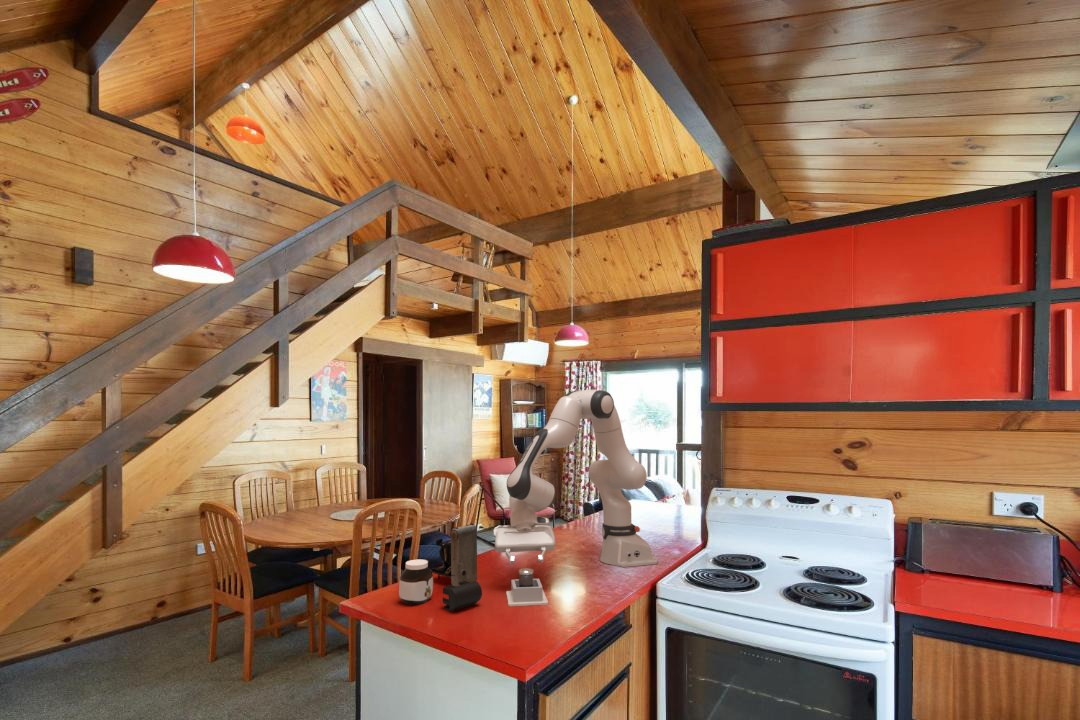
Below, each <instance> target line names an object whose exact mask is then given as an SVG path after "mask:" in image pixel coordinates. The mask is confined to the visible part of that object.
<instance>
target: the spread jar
mask: <svg viewBox="0 0 1080 720" xmlns="http://www.w3.org/2000/svg"><path fill="white" fill-rule="evenodd" d="M428 566H429V560H427V559H420V558H419V559H411V560H407V561H406V562H405V569H403V571H402V573H401V574H400V577H399V583H398V584H399V586H398V596H399V599H400V600H401V601H402V602H403V603H405V604H406V605H410V606H416V605H422V604H423V605H424V604H425V603H427V602H428V600H430V598H431V596H432V594H433V590H434V573H432V572H431V570H432V569H430V568H429V567H428Z"/></svg>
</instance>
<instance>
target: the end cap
mask: <svg viewBox="0 0 1080 720" xmlns="http://www.w3.org/2000/svg"><path fill="white" fill-rule="evenodd" d="M459 585H460V586H453V585H452V584H449V585H445V586H444V587H443V588H442V594H443V595H445V596H448V598H445V597H442V604H444V605H443V606H442V607H443V608H442V609H443V610H446V611H448V612H455V611H459V610H462V609H465V608H468V607H470V606H473V605H476V604H477V603H478V602H479V601H481V600H482V596H483V590H482V586H481V584H480V583H479V582H478V581H473V582H467V581H463V582H459Z"/></svg>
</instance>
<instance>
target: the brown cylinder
mask: <svg viewBox="0 0 1080 720" xmlns="http://www.w3.org/2000/svg"><path fill="white" fill-rule="evenodd" d="M518 579H519V587H533V579H534V569H532V568H530V567H529V568H528V567H526V568H520V569H518Z"/></svg>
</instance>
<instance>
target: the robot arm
mask: <svg viewBox="0 0 1080 720" xmlns="http://www.w3.org/2000/svg"><path fill="white" fill-rule="evenodd" d="M581 419H582V420H590V419H591V423H592V429H593V433H594V439H595V445H596V448H597V451H599V452H600V453H601V454H602V455H603V456H605V458H606V459H598V460H594V461H593V462H592V463H591V464H590V465H589V468H588V477H589V480H590V482H591V483H592V484H593V485H594V486H595V487H596V489H597V491H598V493H599V495H600V499H601V502H602V512H603V514H602V515H603V517H602V518H603V522H602V526H601V534H602V535H601V537H602V547H601V551H600V557H599V561H600V562H602V563H604V564H607V565H613V566H618V567H622V568H628V567H639V566H647V565H649V566H650V565H657V564H658V561H659V559H658V558H657V556H655V555H653V553H652V552H653V551H652V548H651V546H650V544H649V543H648V542H647V540H645V539H643V537H641V536H640V535H638V533H639V532H640V531H641V528H640V527H639V526H638V525H635V524H634V523H632V504H631V502H630V501H629V500H628V499H627V498H626V497H625V495H623V492H622V490H625V491H626V490H628V491H633V490H639V489H642V488H643V487H644V486H645V484H646V482H647V479H648V477H647V476H648V475H647V474H648V473H647V471H646V469H645V467H644V466H643V464H641V463H640V462H638V461H637V459H636V458H635V457H634V456H633V455H632V453H631V452H630V450H629V448H628V447H627V444H626V441H625V437H624V433H623V430H622V423H621V419H620V417H619V413H618V410H617V407H616V405H615V401H614V399H613V396H612V394H611V393H609V392H608V391H606V390H602V389H598V390H597V389H585V390H583V389H582V390H574V391H570V392H567V393H566V394H565V395H564V396H561V397H560V398H559V399H558V401H557V402H556V404H555V406H554V408H553V410H552V412H551V414H550V416H549V419H548V422H547V424H546V425H545V426H544V427H543V428H540V429H538V430H537V431H536V432H535V433H534V435H533V436H532V438H531V440H530V442H529V443H528V445H527V447H526V449H525V450H524V452H523V454H522V456H521V457H520V459H519V461H518V463H517V464H516V466H515V467H514V469H512V471H511V473H509V476H508V477H507V480H506V489H507V492H508V496H509V498H508V501H509V502H508V503H509V510H510V516H509V517H510V518H509V520H510V524H507V525H497V526H496V527H494V528H493V531H492V533H493V537H494V538H495V539H494V550H495V552H496V553H498V554H499V553H501V554H502V553H505V557H507V559H508V560H509V564H510V565H514V564H515V555H514V556H512V554H511V553H519V552H520V553H521V552H524V553H525V552H540V554H538V557H537V560H538V563H544V556H545V554H546V551H550V552H551V551H554V550H555V548H556V537H555V532H554V530H553V528H552V526H550V518H548V517H544V516H540V515H537V514H536V513H539V512H541V511H544V510H546V509H547V508H549V507H550V506H552V504H553V503H554V501H555V498H556V488H555V486H554V484H552V483H551V482H549V481H548V480H546V479H543V478H541V477H539V476H537V475H535V474H534V473H533V469H534V467H535V466H536V464H537V462H538V459H539V458H540V456H541V454H542V452H544V450H546V449H548V448H549V449H550V448H551V449H563V448H566V447H568V446H570V445H571V444H572V443H573V442H574V440H575V438H576V436H577V433H578V430H579V427H580V423H581Z"/></svg>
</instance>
